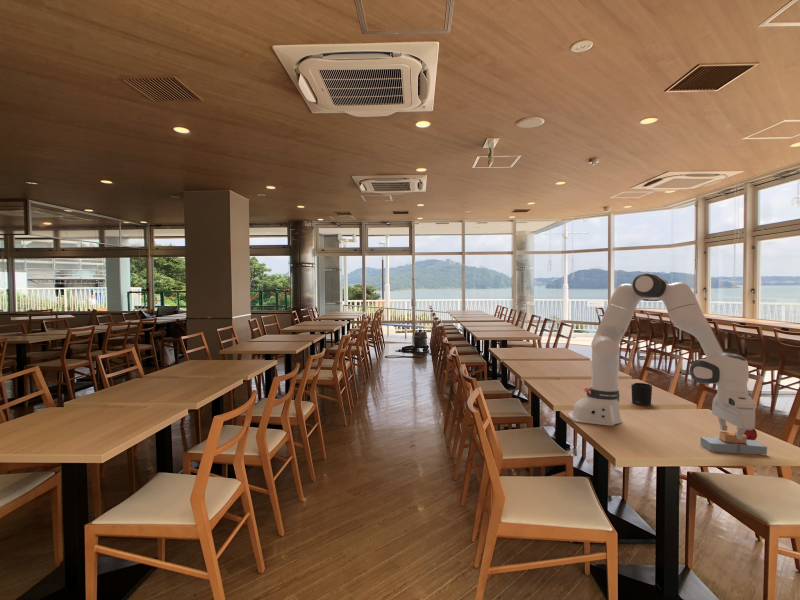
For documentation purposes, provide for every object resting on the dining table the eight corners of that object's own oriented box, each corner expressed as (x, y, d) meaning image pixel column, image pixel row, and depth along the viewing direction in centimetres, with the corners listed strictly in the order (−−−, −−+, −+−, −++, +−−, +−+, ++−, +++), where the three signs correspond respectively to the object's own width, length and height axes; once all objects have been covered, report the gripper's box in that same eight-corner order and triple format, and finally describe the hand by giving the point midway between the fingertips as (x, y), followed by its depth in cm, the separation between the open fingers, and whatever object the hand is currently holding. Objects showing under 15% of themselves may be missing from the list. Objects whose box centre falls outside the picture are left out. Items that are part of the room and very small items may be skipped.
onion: (737, 439, 164) (737, 419, 164) (756, 442, 160) (756, 422, 160) (737, 443, 159) (737, 422, 159) (757, 446, 156) (757, 425, 156)
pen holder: (627, 401, 222) (627, 382, 222) (645, 401, 222) (645, 382, 222) (637, 405, 213) (637, 386, 212) (655, 405, 212) (656, 386, 212)
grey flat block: (710, 451, 151) (710, 443, 151) (700, 444, 158) (700, 436, 158) (766, 455, 148) (766, 446, 148) (753, 447, 155) (753, 440, 155)
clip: (724, 449, 152) (725, 434, 152) (719, 446, 155) (719, 431, 155) (746, 451, 150) (746, 435, 150) (740, 447, 154) (740, 432, 154)
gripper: (707, 390, 163) (706, 424, 164) (739, 404, 143) (737, 443, 143) (725, 391, 162) (724, 425, 162) (760, 405, 142) (758, 444, 142)
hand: (730, 434), depth 153 cm, fingers open, 8 cm apart
